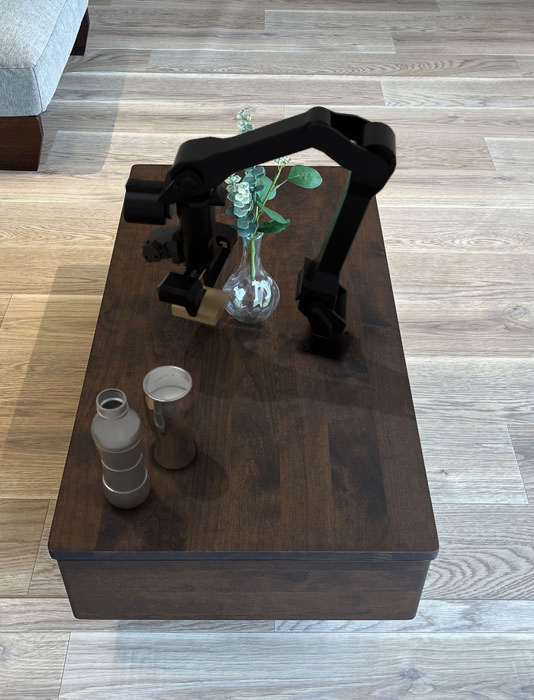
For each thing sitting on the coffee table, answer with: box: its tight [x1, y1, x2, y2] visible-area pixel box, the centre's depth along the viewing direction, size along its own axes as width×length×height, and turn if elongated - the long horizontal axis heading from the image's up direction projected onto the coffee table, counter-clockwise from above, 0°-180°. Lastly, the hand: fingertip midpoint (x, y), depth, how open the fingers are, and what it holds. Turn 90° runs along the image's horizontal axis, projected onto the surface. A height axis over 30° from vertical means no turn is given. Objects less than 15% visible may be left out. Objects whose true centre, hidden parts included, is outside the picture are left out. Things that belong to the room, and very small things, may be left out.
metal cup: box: [142, 365, 196, 470], centre depth 111 cm, size 7×7×15 cm
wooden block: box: [171, 285, 230, 327], centre depth 130 cm, size 6×8×2 cm
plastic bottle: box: [90, 388, 152, 510], centre depth 104 cm, size 6×7×20 cm
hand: (201, 303), depth 130 cm, fingers closed on wooden block, 6 cm apart
